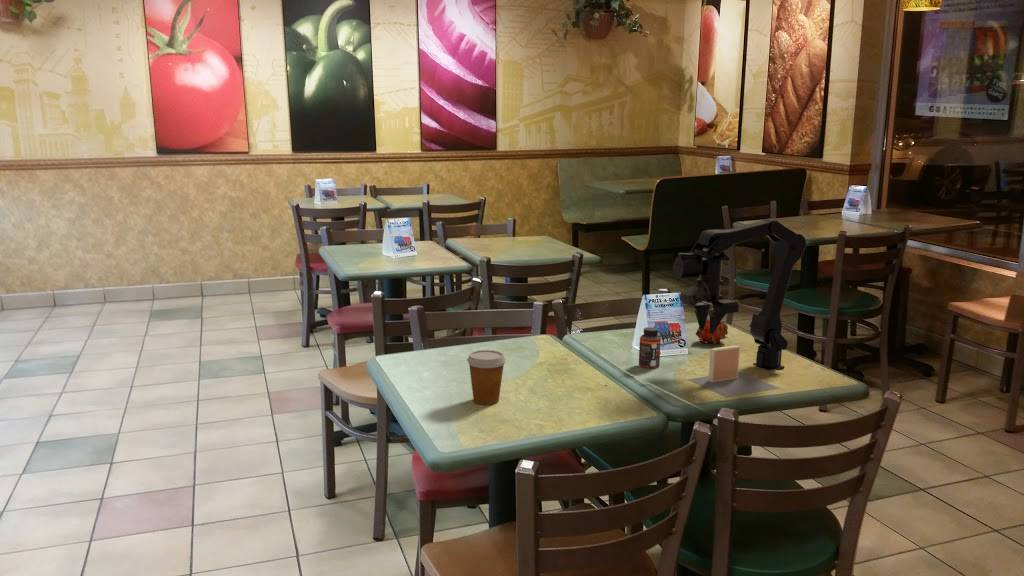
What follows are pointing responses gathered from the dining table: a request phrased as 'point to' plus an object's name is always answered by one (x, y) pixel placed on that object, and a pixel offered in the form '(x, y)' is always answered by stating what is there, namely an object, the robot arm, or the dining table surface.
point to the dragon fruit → (716, 336)
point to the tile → (724, 363)
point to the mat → (734, 385)
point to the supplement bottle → (649, 348)
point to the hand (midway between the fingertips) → (706, 331)
